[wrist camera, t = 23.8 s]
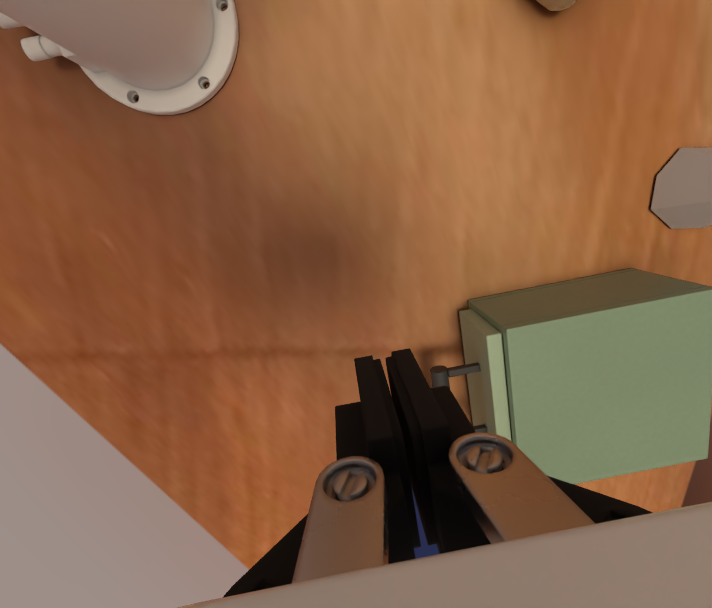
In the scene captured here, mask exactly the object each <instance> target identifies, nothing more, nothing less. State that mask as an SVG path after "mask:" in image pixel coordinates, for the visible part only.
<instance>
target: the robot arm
mask: <svg viewBox="0 0 712 608" xmlns="http://www.w3.org/2000/svg"><path fill="white" fill-rule="evenodd" d="M224 6H227V7H228V8H227V9H226V10H225V11H222V8H223V7H224ZM22 26H26V27H27V28H29V29H31V30H33V31H35V32H36V33H38V34H40V35H38V36H33V37H28V38H23V39H22V40H21V46H22V48H23V50H24V52H25V54H26V55H27V56H28V58H29V59H31V60H32V61H41V60H46V59H52V58H54V57H56V56H61V55H62V56H64V57H65V58H67V59H69V60H71V61H73V62H75V63H77V64H79V65H80V67H81V68H82V70H83V71H84V73H85V74H86V75H87V76H88V77H89V78H90V79H91V80H92V81H93V83H94V84H95V85H96V86H97V87H98V88H100V89H101V90H102V91H104V92H105V93H106V94H107V95H109V96H110V97H111V98H113V99H115V100H117V101H119V102H120V103H122V104H124V105H126V106H128V107H131V108H133V109H136V110H138V111H141V112H145V113H150V114H155V115H175V114H180V113H185V112H188V111H190V110H193V109H195V108H197V107H200V106H201V105H203V104H204V103H205V102H207V101H208V100H210V99H211V98H212V97H213V96H214V95H215V94H216V93H217V92H218V91H219V89H220V88H221V87H222V86H223V85H224V83H225V81H226V79H227V78H228V76H229V74H230V72H231V70H232V67H233V64H234V61H235V58H236V53H237V47H238V40H239V35H238V18H237V13H236V7H235V3H234V0H0V27H2V28H3V29H12V28H17V27H22ZM41 35H42V36H41ZM206 83H209V84H210V86H209V87H208V88H207V89H205V84H206ZM138 96H139V100H138V102H137V101H136V98H137V97H138ZM354 361H355V368H356V374H357V381H358V387H359V394H360V400H361V402H356V403H350V404H345V405H340V406H336V407H335V419H336V451H337V461H335V462H333V463H331V464H330V465H328V466H327V467H326V468H325V469H324V470H323V471H322V472H321V473H320V474H319V476H318V479H317V481H316V484H315V488H314V492H313V496H312V500H311V505H310V509H309V513H308V514H307V515H306V516H305V517H304V518H303V519H302V520H301V521H300V522H299V523H298V524H297V525H296V526H295V527H294V528H293V529H292V530H291V531H290V532H288V533H287V534H286V535H285V536H284V537H283V538H282V539H281V540H280V541H279V542H278V543H277V544H276V545H275V546H274V547H273V548H272V549H271V550H270V551H269V552H268V553H267V554H265V555H264V556H263V557H262V558H261V559H260V560H259V561H258V562H257V563H256V564H255V565H254V566H253V567H252V568H251V569H250V570H249V571H248V572H247V573H246V574H245V575H243V576H242V577H241V578H240V579H239V580H238V581H237V582H236V583H235V584H234V585H233V586H232V587H231V588H230V590H229V591H228V592H227V593H226V594H225V595H224V597H223V598H219V599H215V600H209V601H205V602H199V603H195V604H191V605H186V606H182V607H178V608H712V502H709V503H703V504H698V505H694V506H688V507H682V508H677V509H671V510H666V511H661V512H656V513H652V512H650V511H647V510H645V509H643V508H640V507H638V506H635V505H632V504H629V503H627V502H624V501H621V500H618V499H615V498H612V497H609V496H606V495H603V494H600V493H597V492H594V491H591V490H588V489H585V488H582V487H579V486H577V485H574V484H571V483H568V482H565V481H562V480H559V479H556V478H553V477H550V476H547V475H546V474H545V473H544V472H543V471H542V470H541V469H540V468H538V467H537V466H536V465H535V464H534V463H533V462H532V461H531V460H530V459H529V458H528V457H527V456H526V455H525V454H524V453H523V452H522V451H521V450H520V449H519V448H518V447H517V446H516V445H515V444H514V443H513V442H511V441H510V440H509V439H507V438H505V437H502V436H500V435H497V434H492V433H485V432H475V430H474V428H473V427H472V425H471V423H470V422H469V420H468V419H467V417H466V415H465V414H464V412H463V410H462V409H461V407H460V405H459V404H458V402H457V400H456V399H455V397H454V395H453V394H452V392H451V391H450V389H449V387H448V386H440V387H435V388H430V387H429V385H428V383H427V381H426V379H425V377H424V375H423V373H422V371H421V369H420V367H419V365H418V363H417V361H416V359H415V358H414V356H413V354H412V352H411V350H410V348H409V349H403V350H398V351H393V352H392V357H387V358H386V366H387V372H388V378H389V384H390V390H391V393H390V390H389V387H388V384H387V380H386V377H385V374H384V370H383V367H382V364H381V361H380V359H376V360H373V357H372V355H371V356H366V357H361V358H355V359H354ZM391 396H392V397H391ZM412 490H413V493H412ZM413 494H414V497H415V501H416V505H417V508H418V512H419V515H420V519H421V522H422V526H423V530H424V533H425V537H426V540H427V544H428V545H433V544H437V548H438V551H439V554H437V555H432V556H427V557H422V558H417V559H415V553H414V548H418V547H421V543H420V537H419V530H418V524H417V518H416V511H415V505H414V499H413Z"/></svg>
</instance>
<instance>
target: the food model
mask: <svg viewBox="0 0 712 608" xmlns="http://www.w3.org/2000/svg"><path fill="white" fill-rule="evenodd" d="M536 1H537V2H539V3H540V4H541V5H543V6H544V7H545V8H547V9H548V10H550V11H561V10H565V9H568V8H569V7H570V6H572V5H573V4H574V3H575V2H576V1H577V0H536Z"/></svg>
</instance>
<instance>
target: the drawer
mask: <svg viewBox="0 0 712 608" xmlns="http://www.w3.org/2000/svg"><path fill="white" fill-rule="evenodd" d="M459 315H460V324H461V332H462V340H463V348H464V356H465V364H466V365H461V366H456V367H451V368H446V367H445V366H434V367H432V368H431V369H430V373H431V379H432V386H433V388H435V387H440V386H448V387H449V389H450V386H449V379H448V376H449V377H453V376H458V375H463V374H467V381H468V389H469V397H470V405H471V413H472V421H473V426H472V427H473V428H474V430H475V432H485V433H492V434H497V435H500V436H502V437H505V438H507V439H509V440H510V441H511V442H513V439H512V428H511V417H510V406H509V395H508V385H507V374H506V363H505V352H504V341H503V335H502V334H501V333H500V332H499V331H498V330H497V329H496V328H494V327H493V326H492V325H491V324H489V323H488V322H487V321H486V320H484V319H483V318H482V317H481V316H480V315H478V314H477V313H476V312H475V311H473V310H472V309H468V310H463V311H459Z"/></svg>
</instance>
